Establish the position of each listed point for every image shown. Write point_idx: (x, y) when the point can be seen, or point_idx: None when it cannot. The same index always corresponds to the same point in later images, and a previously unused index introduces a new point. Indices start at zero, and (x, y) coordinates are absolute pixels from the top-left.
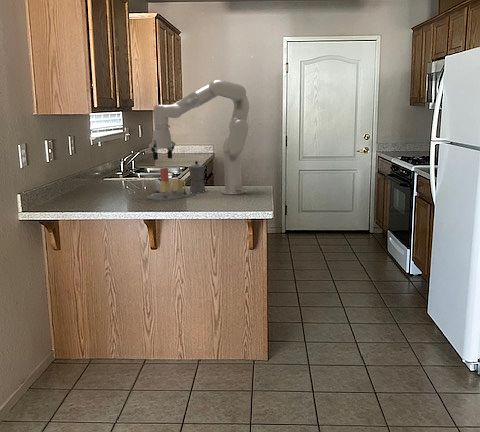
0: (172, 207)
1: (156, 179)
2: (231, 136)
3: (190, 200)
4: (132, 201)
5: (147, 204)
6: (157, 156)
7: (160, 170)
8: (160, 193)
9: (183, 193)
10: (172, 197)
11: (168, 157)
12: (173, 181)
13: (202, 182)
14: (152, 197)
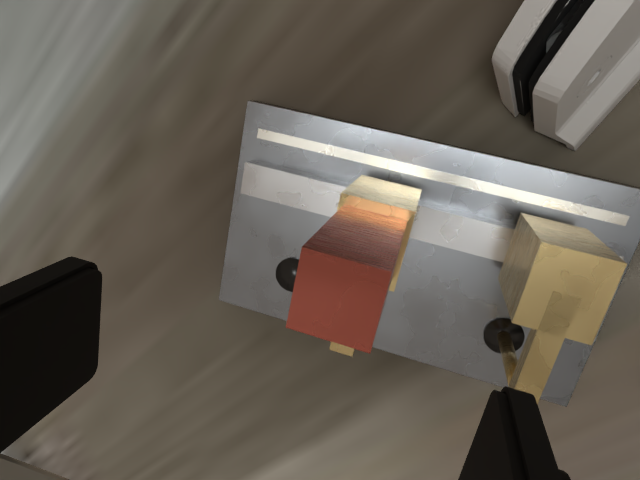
0: (108, 471)
1: None
2: None
3: (330, 463)
4: (113, 99)
5: None
6: (35, 416)
7: (310, 238)
8: (313, 211)
9: (495, 327)
10: None
11: (486, 426)
12: (535, 243)
13: None
14: (234, 192)
